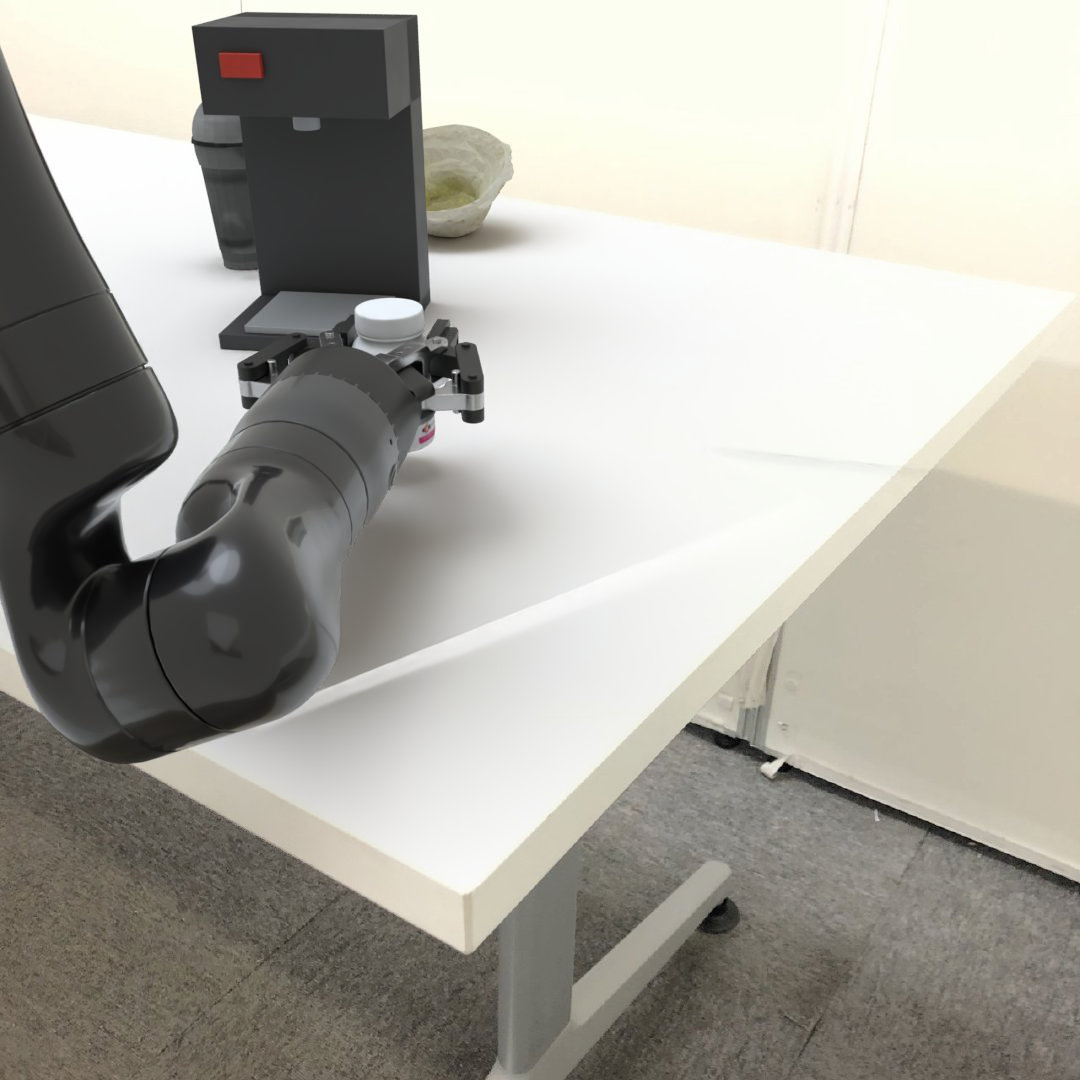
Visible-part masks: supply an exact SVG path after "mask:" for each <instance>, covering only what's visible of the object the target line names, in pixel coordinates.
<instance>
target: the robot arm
mask: <svg viewBox="0 0 1080 1080" xmlns="http://www.w3.org/2000/svg"><path fill="white" fill-rule="evenodd" d="M357 337H359V336H358V334H357V330H356V329H355V314H351V315H350V316H349V317H348V318H347V319H346V321H342V322H339V323H337V324H336V325H335V327H334V328H333V329H332V330H331V331H325V332H322V333H320V334H319V340H311V341H307V335H306V334H303V333H292V334H289V335H287V336H285V337H283V338H281V339H279V340H278V341H276V342H274V343H272V344H271V345H269V346H267V347H265V348H264V349H262V350H257V351H256V352H254V353H253V354H251V355H249V356H248V357H246V358H244V359H243V360H241V361H239V362H238V363H236V369H237V374H238V375H237V377H238V386H239V393H240V398H241V399H240V400H241V407H242V408H243V409H244V410H247V411H246V412H245V413H244V415H243V416H242V418H241V419H240V420H239V422H237V424H236V426H235V427H234V429H233V431H232V433H231V435H230V437H229V438H228V439H229V440H228V442H227V443H226V444H225V445H224V446H223V448H222V449H221V450H220V451H219V452H218V453H217V455H216V456H215V457H214V458H213V459H212V460H211V461H210V463H209V464H207V466H206V467H205V468H204V470H203V471H202V472H201V473H200V474H199V476H198V477H197V478H196V480H195V481H194V483H193V484H192V486H191V487H190V488H189V490H188V492H187V493H186V495H185V496H184V498H183V501H182V503H181V505H180V508H179V510H178V513H177V517H176V524H175V529H174V535H175V543H174V544H172V545H168V546H165V547H164V548H161V549H158V550H156V551H153V552H151V553H148V554H145V555H143V556H140V557H138V558H135V559H133V558H132V557H131V555H130V552H129V549H128V546H127V543H126V539H125V533H124V527H123V526H124V525H123V519H122V508H121V507H122V497H124V495H125V494H126V493H127V492H129V491H130V490H131V489H133V488H134V487H135V486H137V485H138V484H140V483H141V482H143V481H144V480H145V479H147V478H148V477H149V476H151V475H152V474H153V473H155V472H156V471H157V470H158V469H159V468H160V467H162V466H163V465H164V464H165V462H167V461H168V460H169V458H171V456H172V454H174V452H175V449H176V448H177V446H178V442H179V439H180V435H179V434H180V429H179V424H178V420H177V416H176V414H175V412H174V408H173V407H172V404H171V402H170V400H169V398H168V396H167V394H166V391H165V390H164V387H163V385H162V384H161V382H160V380H159V378H158V376H157V374H156V372H155V370H154V369H153V366H151V365H148V364H149V359H148V357H147V356H146V354H145V352H144V350H143V348H142V346H141V345H140V341H139V340H138V338H137V337H136V335H135V333H134V331H133V329H132V327H131V325H130V323H129V322H128V320H127V318H126V316H125V314H124V313H123V310H122V308H121V307H120V305H119V302H118V301H117V299H116V297H115V295H114V294H113V292H111V288H110V286H109V284H108V282H107V281H106V278H105V277H104V275H103V273H102V272H101V270H100V268H99V266H98V264H97V262H96V261H95V258H94V257H93V255H92V253H91V250H90V249H89V247H88V245H87V243H86V242H85V239H84V238H83V236H82V234H81V232H80V230H79V228H78V225H77V224H76V222H75V219H74V217H73V216H72V214H71V211H70V209H69V207H68V205H67V203H66V201H65V199H64V197H63V195H62V193H61V191H60V189H59V187H58V185H57V182H56V179H55V178H54V175H53V174H52V170H51V169H50V167H49V163H48V162H47V160H46V157H45V155H44V152H43V150H42V148H41V146H40V144H39V141H38V139H37V136H36V134H35V131H34V129H33V126H32V123H31V121H30V119H29V117H28V114H27V112H26V110H25V107H24V104H23V102H22V99H21V97H20V94H19V91H18V89H17V87H16V84H15V81H14V79H13V76H12V73H11V71H10V68H9V66H8V63H7V60H6V57H5V55H4V52H3V48H2V46H1V45H0V604H1V608H2V612H3V615H4V619H5V622H6V626H7V630H8V634H9V637H10V641H11V644H12V648H13V652H14V656H15V658H16V662H17V664H18V667H19V668H18V669H19V670H20V673H21V676H22V680H23V682H24V684H25V686H26V688H27V691H28V692H29V694H30V696H31V699H32V701H33V702H34V703H35V705H36V706H37V707H36V708H38V710H39V711H40V713H41V714H42V715H43V717H44V718H45V719H46V720H47V722H48V723H49V724H50V725H51V726H52V727H53V728H54V729H55V730H56V732H57V733H59V735H61V736H62V737H63V738H64V739H65V740H67V741H68V742H69V743H70V744H72V745H73V746H75V748H77V749H79V750H80V751H82V752H83V753H85V754H87V755H89V756H91V757H93V758H96V759H98V760H101V761H103V762H106V763H111V764H117V765H131V764H139V763H140V764H141V763H146V762H150V761H154V760H157V759H160V758H164V757H166V756H169V755H172V754H176V753H178V752H181V751H184V750H188V749H191V748H193V747H197V746H200V745H203V744H206V743H209V742H213V741H216V740H219V739H222V738H225V737H228V736H231V735H235V734H238V733H241V732H244V731H248V730H251V729H254V728H257V727H260V726H263V725H266V724H269V723H272V722H275V721H278V720H280V719H282V718H284V717H286V716H287V715H290V714H291V713H293V712H295V711H296V710H297V709H299V708H300V707H302V706H303V705H304V704H306V702H308V701H309V700H310V699H311V698H312V697H313V696H314V695H315V694H316V693H317V692H318V691H319V689H321V687H322V686H323V685H324V683H325V682H326V680H327V679H328V677H329V676H330V675H331V673H332V671H333V669H334V667H335V665H336V663H337V659H338V656H339V652H340V645H341V644H340V643H341V599H342V585H343V584H342V583H343V567H344V566H343V565H344V563H345V561H346V560H347V557H348V556H349V554H350V552H351V550H352V548H353V546H354V544H355V542H356V540H357V538H358V537H359V536H360V535H359V534H360V533H361V531H362V530H363V529H364V528H365V527H366V525H367V524H369V523H370V521H371V520H372V519H373V517H374V516H375V514H376V513H377V511H378V510H379V508H380V507H381V505H382V504H383V501H384V499H385V498H386V496H387V493H388V492H389V491H390V490H391V488H392V487H393V486H394V484H395V481H396V477H397V475H398V473H399V471H400V469H401V467H402V465H403V463H404V461H405V459H406V458H407V456H408V454H409V453H410V452H409V450H410V448H411V446H412V443H413V441H414V438H415V435H416V432H417V429H418V427H419V426H420V425H422V424H424V423H426V422H428V421H429V420H431V419H432V418H433V416H434V415H436V412H446V411H452V413H453V414H456V415H460V416H461V420H462V422H464V423H466V424H473V425H475V424H480V423H483V422H485V376H484V372H483V367H482V363H481V359H480V355H479V351H478V346H477V344H476V343H474V342H469V341H463V342H460V340H459V329H458V327H457V326H451V320H450V319H446V318H437V319H436V321H435V323H434V324H433V325H432V327H431V329H430V331H429V332H428V334H427V335H426V340H425V341H423V342H422V343H420V344H417V343H412V342H406V343H405V344H403V345H401V346H399V347H398V348H396V349H394V350H392V351H391V352H389V353H387V354H383V353H379V354H377V355H375V356H374V355H372V354H370V353H368V352H365V351H363V350H360V349H356V348H353V347H352V344H353V342H354V341H355V339H356V338H357ZM146 365H148V366H146ZM408 452H409V453H408Z"/></svg>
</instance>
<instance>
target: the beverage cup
mask: <svg viewBox="0 0 1080 1080" xmlns="http://www.w3.org/2000/svg"><path fill="white" fill-rule="evenodd" d="M191 134H192V135H191V138H190V139H191V140H190V143H191V144H192V145H193V148H194V153H195V157H196V159H197V162H198V165H199V166H200V169H201V172H202V178H203V181H204V185H205V186H204V187H205V191H206V195H207V199H208V203H209V208H210V209H209V210H210V212H211V217H212V221H213V225H214V226H213V227H214V231H215V234H216V239H217V243H218V248H219V251H220V255H221V258H222V260H223V266H224V267H225V268H227V269H230V270H236V271H237V270H238V271H247V270H256V269H257V270H258V264H257V256H256V248H255V240H254V231H253V223H252V215H251V207H250V199H249V191H248V183H247V174H246V166H245V158H244V150H243V142H242V134H241V126H240V118H239V116H228V115H204V114H203V107H202V102H201V103H200V104H199V105H198V107H197V109H196V110H195V112H194V115H193V118H192V123H191Z"/></svg>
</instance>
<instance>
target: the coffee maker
mask: <svg viewBox="0 0 1080 1080" xmlns="http://www.w3.org/2000/svg"><path fill="white" fill-rule="evenodd" d="M418 18H419V17H418V15H417V14H393V13H392V14H391V13H390V14H389V13H340V12H339V13H332V12H331V13H330V12H273V11H272V12H271V11H270V12H268V11H244V12H240V13H236V14H232V15H227V16H225V17H221V18H217V19H213V20H209V21H205V22H201V23H198V24H194V25H191V34H192V41H193V49H194V55H195V62H196V69H197V78H198V85H199V92H200V99H201V103H202V107H203V114H204V115H228V116H239V118H240V126H241V134H242V142H243V150H244V158H245V166H246V174H247V183H248V191H249V199H250V207H251V215H252V223H253V231H254V240H255V248H256V256H257V264H258V268H257V271H258V279H259V286H260V296H258V297H257V298H256V299H255V300H254V301H253V302H252V303H251V304H250V305H248V306H247V308H245V309H244V310H243V311H242V312H241V313H240V314H239V315H238V316H236V318H234V319H233V320H232V321H231V322H230V323H228V325H227V326H226V327H225V328H223V329H222V330H221V331H220V332H219V333H218V342H219V348H220V349H228V350H245V351H260V350H262V349H264V348H265V347H267V346H269V345H271V344H272V343H274V342H276V341H278V340H279V339H281V338H283V337H285V336H287V335H289V334H292V333H303V334H306V335H307V341H311V340H319V334H320V333H322V332H325V331H331V330H332V329H333V328H334V327H335V325H336V324H337V323H339V322H342V321H346V319H347V318H348V317H349V316H350V315H351V314H355V308H356V307H357V306H358V305H359V304H361V303H363V302H366V301H369V300H374V299H381V298H402V299H409V300H413V301H416V302H418V303H420V304H421V305H422V307H423V312H424V311H425V310H426V308H427V307H428V305H429V304H430V302H431V286H430V285H431V283H430V282H431V281H430V280H431V279H430V260H429V259H430V258H429V238H428V235H429V234H427V213H426V191H425V169H424V148H423V129H424V128H423V108H422V107H423V105H422V84H421V64H420V63H421V62H420V61H421V60H420V41H419V40H420V39H419V19H418Z"/></svg>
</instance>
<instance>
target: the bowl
mask: <svg viewBox="0 0 1080 1080" xmlns="http://www.w3.org/2000/svg"><path fill="white" fill-rule="evenodd" d="M423 148H424V169H425V191H426V213H427V235H430V236H434V237H439V238H459V237H463V236H465V235H469V234H470V233H473V232H475V231H476V230H478V228H479V227H481V226H482V225H483V223H484V222H485V220H486V218H487V216H488V215H489V212H490V210H491V208H492V205H493V202H494V201H495V200H496V199H497V197H498V196H499V194H500V193H501V190H503V188H504V186H505V184H507V182H509V181H511V180H512V179H513V176H514V173H515V169H514V164H513V162H512V159H513V155H512V152H513V151H512V148H511V145H510V144H508V143H506V142H504V141H502V140H500V139H499V138H498V137H497V136H494V135H493V134H491V133H490V132H488V131H487V130H486V131H485V130H484V129H481V128H479V127H475V126H472V125H466V124H465V125H464V124H459V123H454V124H453V123H452V124H446V125H440V126H434V127H433V126H432V127H428V128H423Z"/></svg>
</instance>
